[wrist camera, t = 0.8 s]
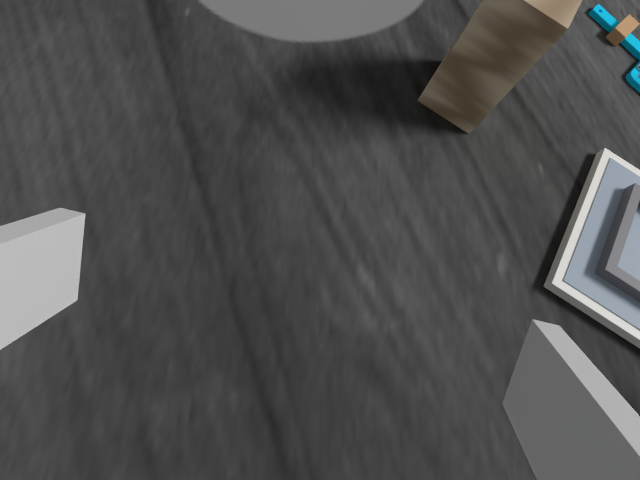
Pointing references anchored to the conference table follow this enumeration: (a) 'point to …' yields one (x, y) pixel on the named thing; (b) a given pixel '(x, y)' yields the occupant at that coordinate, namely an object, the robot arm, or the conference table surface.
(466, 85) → the beech column
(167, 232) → the conference table surface
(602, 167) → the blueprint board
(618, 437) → the robot arm
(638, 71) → the gear mechanism
